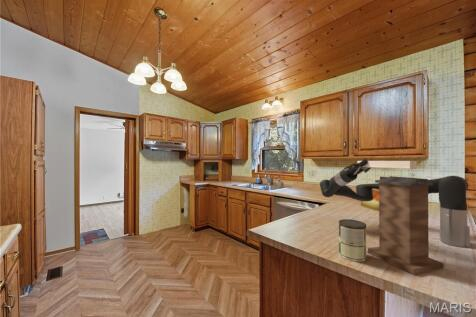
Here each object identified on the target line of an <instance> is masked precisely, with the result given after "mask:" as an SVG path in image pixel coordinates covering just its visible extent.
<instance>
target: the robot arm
mask: <svg viewBox="0 0 476 317" xmlns="http://www.w3.org/2000/svg"><path fill="white" fill-rule="evenodd" d="M360 161H361V162H360V163H358V162H356V163H352V164H350V165H348V166H346V167H343V169H342V170H340V171H339V172H337V173H336V174H335V175H333V176H332V177H331V178H329V179H322V180H321V181H319V186H320V190H321V195H322V196H323V197H325V198H330V197H331V198H332V197H333V196H334V195H335V196H339V197H345V198H349V199H353V200H355V201H359V202H361V201H372V200H373V191H372V190H377V191H379V183H376V182H375V183H364V184H362V183H361V184H358V185H356V186H355V191H354V190H353V189H352V188H351V187H350V186H348V184H350V183H352V182H353V181H355V180H357V179H358V175H360V174H362V173H363V172H364V174H365V173H368V172H369V171H370V170H371V169H372V167H363V166H364V165H366V164H368V161H375V160H374V159H370V160H368V159H367V158H366V159H365V158H364V159H363V160H360ZM428 182H429V183H433V185H432V186H428V195H429V194H438V201H439V219H440V220H439V223H440V224H439V227H440V229H439V236H440V237H439V238H440V239H439V240H440V242H442V243H443V244H447V245H450V246H453V247H461V248H470V247H471V245H470V244H471V242H470V241H471V240H470V239H471V236H470V235H471V234H470V233H471V228H470V226H469V225H468V203H467V190H468V188H469V183H468V180H466V179H465V178H463V177H461V176H459V175H447V176H444V177H439V178H433V179H428Z"/></svg>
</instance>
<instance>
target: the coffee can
mask: <svg viewBox="0 0 476 317" xmlns="http://www.w3.org/2000/svg"><path fill="white" fill-rule="evenodd" d="M338 255H339V256H340V257H341V258H342V259H345V260H348V261H351V262H359V263H361V262H365V261H367V223H366V222H363V221H362V220H361V221H360V220H356V219H345V218H344V219H339V220H338Z"/></svg>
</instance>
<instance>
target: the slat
mask: <svg viewBox="0 0 476 317" xmlns="http://www.w3.org/2000/svg"><path fill="white" fill-rule="evenodd" d="M361 161H362V160H357V163H360V162H361ZM367 161H368V164H366V165H364V166H363V167H371V168H379V169H380V168H381V169H382V168H383V169H404V170H405V169H406V170H407V169H409V170H412V169H415V170H417V160H374V161H370V160H367Z"/></svg>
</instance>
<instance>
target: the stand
mask: <svg viewBox="0 0 476 317" xmlns="http://www.w3.org/2000/svg"><path fill="white" fill-rule="evenodd" d="M428 180H429V179H428V178H421V177H420V178H419V177H417V178H416V177H407V176H405V177H404V176H402V177H401V176H393V175H390V176H379V179H375V180H374V182H375V184H376V183H379V190H378V191H379V211H378V215H379V216H378V226H379V228H378V234H379V235H378V236H379V237H378V239H379V240H378V242H379V243H378V244H379V245H378V246H373V247H368V248H367V254H369V255H371V256H373V257H375V256H376V257H375V258H377V257H378V259H379V258H380V259H379V260H381V259H382V260H381V261H384V262H386V263H387V264H389V265H391V266H394V267H396V268H398V269H400V270H402V271H404V272H406V273H408V274H410V275H412V274H413V275H414V274H415V275H420V274H424V273H429V272H433V271H438V270H442V269H443V268H445V266H444V262H442V261H439V260H436V259H434V258H431V257H430V256H429V255H430V254H429V243H430V242H429V240H430V239H429V194H428V186H432V185H433V183H429V182H428ZM428 271H429V272H428ZM419 273H420V274H419ZM413 275H412V276H413Z"/></svg>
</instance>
